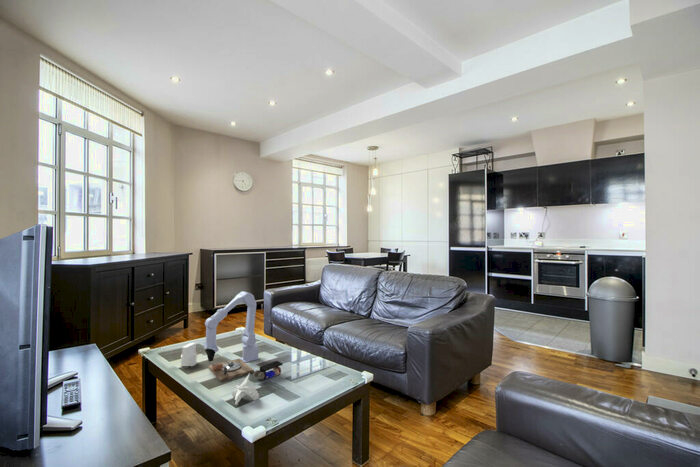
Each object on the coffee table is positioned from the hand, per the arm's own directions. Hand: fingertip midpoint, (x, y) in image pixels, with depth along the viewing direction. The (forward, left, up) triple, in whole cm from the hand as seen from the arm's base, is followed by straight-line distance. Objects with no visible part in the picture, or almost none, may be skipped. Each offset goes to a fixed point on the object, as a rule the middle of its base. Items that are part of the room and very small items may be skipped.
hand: (210, 360), depth 195 cm
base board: (-9, +9, -5) cm, 14 cm away
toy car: (-22, +33, -5) cm, 40 cm away
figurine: (-2, +49, -5) cm, 49 cm away
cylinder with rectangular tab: (+8, -17, -5) cm, 20 cm away
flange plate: (-7, +8, -4) cm, 11 cm away
